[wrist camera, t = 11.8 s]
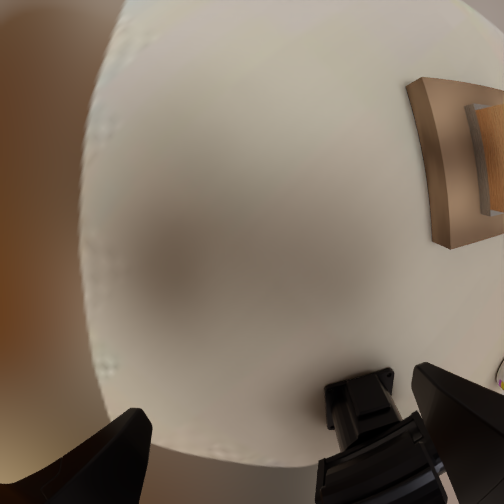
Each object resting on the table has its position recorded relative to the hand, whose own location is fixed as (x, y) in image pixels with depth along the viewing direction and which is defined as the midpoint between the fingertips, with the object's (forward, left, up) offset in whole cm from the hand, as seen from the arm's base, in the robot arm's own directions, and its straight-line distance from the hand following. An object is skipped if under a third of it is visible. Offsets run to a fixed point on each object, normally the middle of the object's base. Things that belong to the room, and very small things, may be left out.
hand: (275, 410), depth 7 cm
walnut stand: (+6, -19, -12) cm, 23 cm away
